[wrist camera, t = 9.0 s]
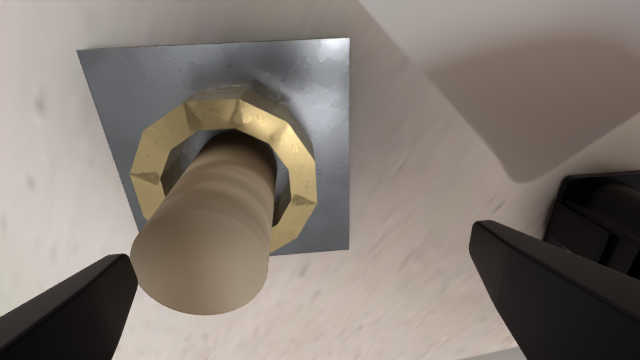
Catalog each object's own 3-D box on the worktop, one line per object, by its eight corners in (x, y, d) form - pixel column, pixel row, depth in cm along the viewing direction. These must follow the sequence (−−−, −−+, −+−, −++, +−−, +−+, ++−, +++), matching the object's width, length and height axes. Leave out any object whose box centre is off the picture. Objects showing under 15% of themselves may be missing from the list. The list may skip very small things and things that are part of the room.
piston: (273, 128, 19) (259, 205, 11) (280, 200, 21) (273, 309, 13) (190, 133, 18) (111, 215, 10) (205, 204, 21) (150, 320, 12)
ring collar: (346, 37, 18) (360, 39, 14) (346, 241, 24) (356, 278, 20) (87, 49, 17) (33, 54, 13) (156, 256, 23) (131, 298, 20)
